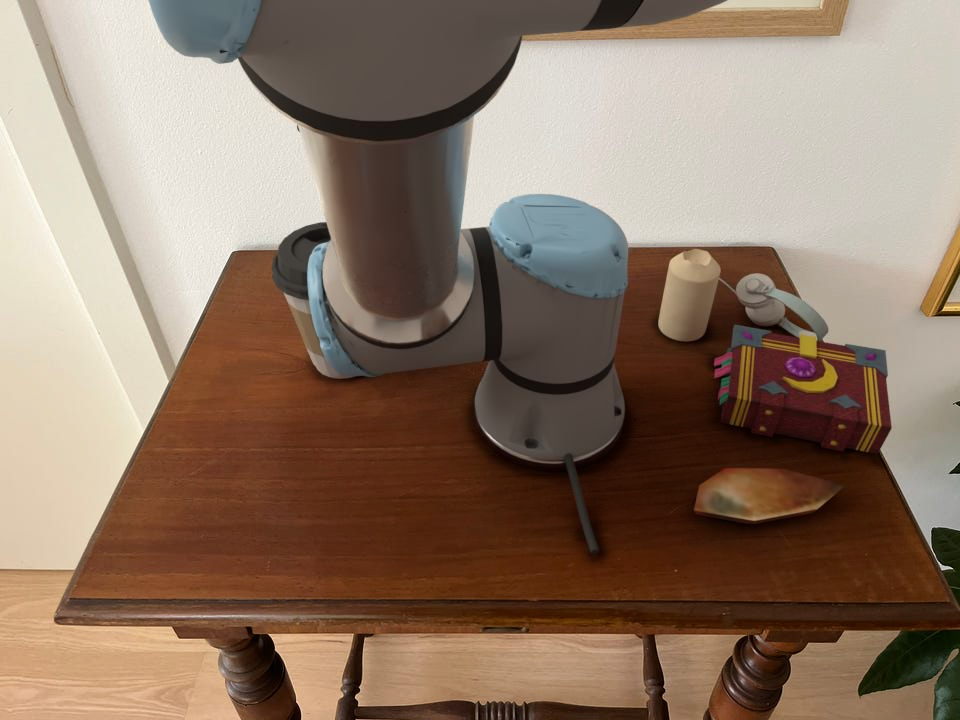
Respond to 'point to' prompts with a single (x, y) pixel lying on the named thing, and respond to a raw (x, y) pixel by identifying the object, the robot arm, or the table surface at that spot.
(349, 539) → the table surface
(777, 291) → the headphones
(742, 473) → the decorative stone
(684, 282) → the candle
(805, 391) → the decorative book
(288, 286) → the coffee cup
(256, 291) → the table surface
